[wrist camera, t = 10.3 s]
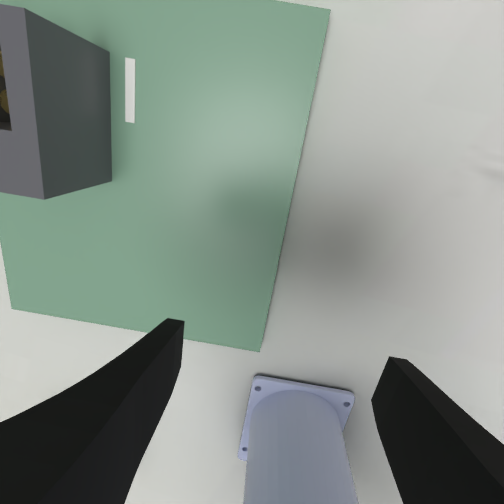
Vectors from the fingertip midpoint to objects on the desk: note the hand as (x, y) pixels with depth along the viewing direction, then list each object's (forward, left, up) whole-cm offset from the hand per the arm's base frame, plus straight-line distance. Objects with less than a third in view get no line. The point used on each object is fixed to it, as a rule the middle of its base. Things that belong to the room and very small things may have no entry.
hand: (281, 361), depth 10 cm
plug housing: (+7, +13, -9) cm, 17 cm away
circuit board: (+3, +9, -10) cm, 14 cm away
